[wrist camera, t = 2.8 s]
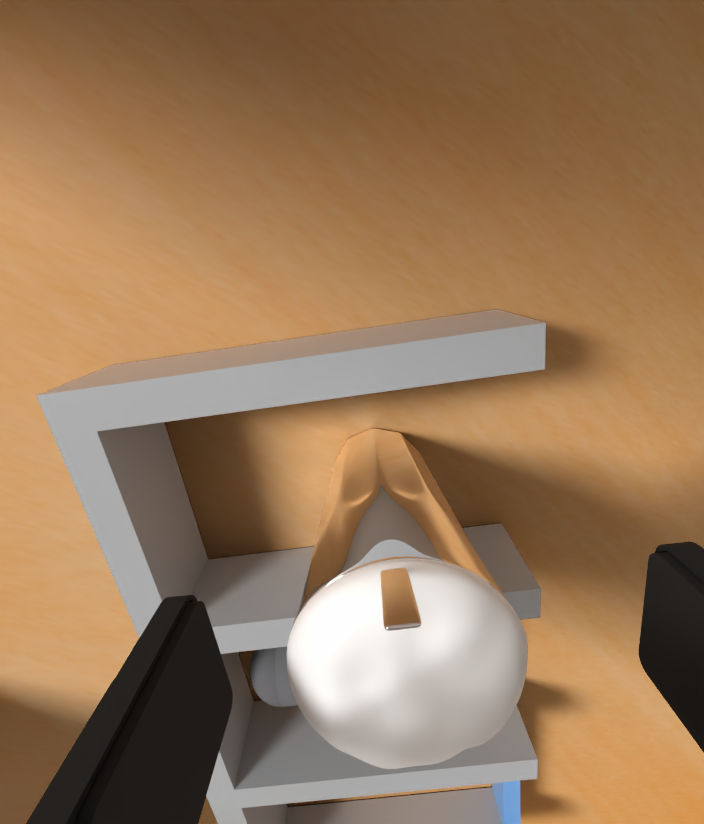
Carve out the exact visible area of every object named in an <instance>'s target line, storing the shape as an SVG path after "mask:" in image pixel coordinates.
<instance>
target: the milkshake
mask: <svg viewBox="0 0 704 824" xmlns="http://www.w3.org/2000/svg"><path fill="white" fill-rule="evenodd" d="M527 660H528V643H527V637H526V633H525V630H524V627H523V625H522V622H521V620H520V619H519V617H518V615H517V613H516V612H515V610H514V609H513V608H512V606H511V605H510V604H509V602H508V600H507V599H506V597H505V596H504V594H503V592H502V591H501V589H500V588H499V586H498V584H497V583H496V581H495V580H494V578H493V576H492V575H491V573H490V572H489V570H488V568H487V567H486V565H485V564H484V562H483V561H482V559H481V557H480V556H479V554H478V553H477V551H476V549H475V548H474V546H473V545H472V543H471V541H470V540H469V538H468V537H467V535H466V533H465V532H464V530H463V529H462V527H461V525H460V523H459V522H458V520H457V518H456V516H455V514H454V513H453V511H452V509H451V507H450V506H449V504H448V502H447V500H446V499H445V497H444V495H443V493H442V492H441V490H440V488H439V486H438V485H437V483H436V481H435V479H434V477H433V476H432V474H431V472H430V470H429V469H428V467H427V465H426V463H425V462H424V460H423V458H422V456H421V455H420V453H419V452H418V450H417V449H416V448H415V447H414V446H413V445H412V444H411V443H410V442H409V441H408V440H407V439H406V438H405V437H404V436H403V435H402V434H401V433H400V432H393V431H387V430H381V429H376V428H371V429H369V430H367V431H365V432H362V433H360V434H358V435H356V436H353V437H351V438H349V439H347V441H346V442H345V444H344V446H343V448H342V449H341V451H340V453H339V455H338V456H337V458H336V460H335V461H334V465H333V469H332V473H331V477H330V481H329V486H328V490H327V494H326V498H325V503H324V507H323V511H322V516H321V520H320V524H319V529H318V533H317V538H316V542H315V546H314V550H313V554H312V558H311V561H310V565H309V568H308V572H307V576H306V579H305V583H304V586H303V590H302V593H301V597H300V601H299V604H298V608H297V611H296V615H295V619H294V622H293V626H292V630H291V633H290V636H289V640H288V644H287V669H288V676H289V681H290V685H291V689H292V692H293V695H294V697H295V700H296V702H297V704H298V706H299V708H300V710H301V712H302V713H303V715H304V717H305V718H306V720H307V721H308V722H309V724H310V725H311V726H312V727H313V728H314V729H315V730H316V732H317V733H318V734H319V735H320V736H322V737H323V738H324V739H325V740H326V741H327V742H328V743H330V744H331V745H332V746H333V747H335V748H336V749H338V750H340V751H342V752H344V753H346V754H349V755H351V756H353V757H355V758H357V759H359V760H362V761H364V762H366V763H368V764H371V765H373V766H376V767H379V768H384V769H399V768H405V767H412V766H421V765H431V764H436V763H440V762H443V761H445V760H448V759H450V758H452V757H453V756H455V755H457V754H458V753H460V752H461V751H463V750H465V749H468V748H472V747H476V746H479V745H482V744H484V743H486V742H487V741H489V740H490V739H491V738H492V737H494V736H495V735H496V734H497V733H498V732H499V731H500V730H501V729H502V728H503V726H504V725H505V723H506V722H507V720H508V719H509V717H510V715H511V714H512V712H513V710H514V709H515V707H516V705H517V703H518V701H519V699H520V696H521V693H522V690H523V686H524V682H525V677H526V671H527Z"/></svg>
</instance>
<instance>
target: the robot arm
mask: <svg viewBox="0 0 704 824" xmlns="http://www.w3.org/2000/svg"><path fill="white" fill-rule="evenodd" d="M639 658H640V661H641V664H642V666H643V668H644V670H645V672H646V673H647V675H648V676H649V678H650V679H651V680H652V682H653V683H654V685H655V686H656V687H657V689H658V690H659V691H660V693H661V694H662V696H663V697H664V698H665V700H666V701H667V702H668V704H669V705H670V707H671V708H672V709H673V711H674V712H675V713H676V715H677V716H678V718H679V719H680V720H681V722H682V723H683V725H684V726H685V727H686V729H687V730H688V731H689V733H690V734H691V736H692V737H693V738H694V740H695V741H696V742H697V744H698V745H699V747H700V748H701V749H702V751H703V752H704V549H703V548H702V547H701V546H699V545H697V544H696V543H693V542H683V543H674V544H664V545H659V546H658V547H657V548H656V551H655V553H653V554H651V555H650V556H649V560H648V570H647V579H646V588H645V597H644V607H643V616H642V625H641V635H640V644H639ZM232 703H233V692H232V687H231V684H230V681H229V678H228V675H227V672H226V669H225V666H224V662H223V659H222V656H221V653H220V650H219V647H218V644H217V641H216V638H215V635H214V631H213V628H212V625H211V622H210V619H209V616H208V613H207V610H206V607H205V604H204V603H203V602H202V601H197V598H196V597H195V596H194V595H184V596H175V597H167V598H165V599H164V600H163V601H162V602H161V603H160V605H159V607H158V608H157V610H156V612H155V613H154V615H153V617H152V618H151V620H150V622H149V623H148V625H147V627H146V628H145V630H144V631H143V633H142V635H141V636H140V638H139V640H138V641H137V643H136V645H135V646H134V648H133V650H132V651H131V653H130V655H129V656H128V658H127V660H126V661H125V663H124V665H123V666H122V668H121V670H120V671H119V673H118V675H117V676H116V678H115V679H114V680H113V682H112V683H111V685H110V686H109V688H108V690H107V691H106V693H105V694H104V696H103V698H102V699H101V701H100V703H99V704H98V706H97V708H96V709H95V711H94V713H93V714H92V716H91V718H90V719H89V721H88V722H87V724H86V726H85V727H84V729H83V731H82V732H81V734H80V736H79V737H78V739H77V741H76V742H75V744H74V746H73V747H72V749H71V751H70V752H69V754H68V755H67V757H66V759H65V760H64V762H63V764H62V765H61V767H60V769H59V770H58V772H57V774H56V775H55V777H54V779H53V780H52V782H51V784H50V785H49V787H48V788H47V790H46V792H45V793H44V795H43V797H42V798H41V800H40V802H39V803H38V805H37V807H36V808H35V810H34V812H33V813H32V815H31V816H30V818H29V820H28V821H27V823H26V824H198V822H199V818H200V815H201V812H202V808H203V805H204V801H205V798H206V795H207V791H208V788H209V784H210V781H211V777H212V774H213V771H214V767H215V764H216V760H217V757H218V754H219V750H220V747H221V743H222V740H223V736H224V733H225V730H226V726H227V723H228V719H229V716H230V713H231V709H232Z"/></svg>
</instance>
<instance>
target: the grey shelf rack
mask: <svg viewBox="0 0 704 824" xmlns="http://www.w3.org/2000/svg"><path fill="white" fill-rule="evenodd" d="M545 339H546V323H545V322H542V321H538V320H534V319H531V318H527V317H524V316H520V315H516V314H513V313H509V312H506V311H502V310H498V309H495V310H488V311H481V312H474V313H467V314H460V315H453V316H446V317H439V318H433V319H426V320H419V321H412V322H405V323H398V324H391V325H384V326H377V327H370V328H364V329H357V330H350V331H343V332H336V333H329V334H322V335H315V336H308V337H302V338H295V339H288V340H281V341H274V342H267V343H260V344H253V345H246V346H239V347H233V348H226V349H219V350H212V351H205V352H198V353H191V354H184V355H177V356H170V357H164V358H157V359H150V360H143V361H136V362H129V363H122V364H115V365H110V366H107V367H105V368H102V369H100V370H98V371H95V372H93V373H90V374H88V375H85V376H83V377H80V378H78V379H76V380H73V381H71V382H68V383H66V384H63V385H61V386H58V387H56V388H54V389H51V390H49V391H46V392H44V393H41V394H39V395H36V396H37V398H38V401H39V403H40V405H41V408H42V410H43V412H44V415H45V417H46V419H47V422H48V424H49V427H50V429H51V431H52V434H53V436H54V438H55V441H56V443H57V445H58V448H59V450H60V452H61V455H62V457H63V460H64V462H65V464H66V467H67V469H68V471H69V474H70V476H71V478H72V481H73V483H74V485H75V488H76V490H77V493H78V495H79V497H80V500H81V502H82V504H83V507H84V509H85V511H86V514H87V516H88V518H89V521H90V523H91V526H92V528H93V530H94V533H95V535H96V537H97V540H98V542H99V544H100V547H101V549H102V552H103V554H104V556H105V559H106V561H107V563H108V566H109V568H110V570H111V573H112V575H113V577H114V580H115V582H116V585H117V587H118V589H119V592H120V594H121V596H122V599H123V601H124V603H125V606H126V608H127V610H128V613H129V615H130V618H131V620H132V622H133V625H134V627H135V629H136V632H137V634H138V636H139V638H140V636H141V635H142V633H143V631H144V630H145V628H146V627H147V625H148V623H149V622H150V620H151V618H152V617H153V615H154V613H155V612H156V610H157V608H158V607H159V605H160V603H161V602H162V601H163V600H164V599H165V598H167V597H175V596H184V595H194V596H195V597H196V598H197V601H202V602H203V603H204V604H205V607H206V610H207V613H208V616H209V619H210V622H211V625H212V628H213V631H214V635H215V638H216V641H217V644H218V647H219V650H220V653H221V656H222V659H223V662H224V666H225V669H226V672H227V675H228V678H229V681H230V684H231V687H232V692H233V703H232V709H231V713H230V716H229V719H228V723H227V726H226V730H225V733H224V736H223V740H222V743H221V747H220V750H219V754H218V757H217V760H216V764H215V767H214V771H213V774H212V777H211V781H210V784H209V788H208V791H207V795H206V797H207V799H208V801H209V804H210V806H211V809H212V811H213V813H214V816H215V818H216V820H217V823H218V824H520V780H530V779H537V766H538V759H537V756H536V754H535V751H534V749H533V746H532V743H531V741H530V738H529V736H528V733H527V730H526V728H525V725H524V723H523V720H522V717H521V715H520V712H519V710H518V707H517V705H516V707H515V709H514V710H513V712H512V714H511V715H510V717H509V719H508V720H507V722H506V723H505V725H504V726H503V728H502V729H501V730H500V731H499V732H498V733H497V734H496V735H495V736H494V737H492V738H491V739H490V740H489V741H487V742H486V743H484V744H482V745H479V746H476V747H472V748H468V749H465V750H463V751H461V752H460V753H458V754H457V755H455V756H453V757H452V758H450V759H448V760H445V761H443V762H440V763H436V764H431V765H421V766H412V767H405V768H399V769H384V768H379V767H376V766H373V765H371V764H368V763H366V762H364V761H362V760H359V759H357V758H355V757H353V756H351V755H349V754H346V753H344V752H342V751H340V750H338V749H336V748H335V747H333V746H332V745H331V744H330V743H328V742H327V741H326V740H325V739H324V738H323V737H322V736H320V735H319V734H318V733H317V732H316V730H315V729H314V728H313V727H312V726H311V725H310V724H309V722H308V721H307V720H306V718H305V717H304V715H303V713H302V712H301V710H300V708H299V706H298V705H296V706H287V707H276V706H272V705H269V704H268V703H266V702H264V701H263V700H261V701H253V698H252V695H251V692H250V688H249V685H248V682H247V679H246V676H245V673H244V670H243V667H242V663H241V660H240V657H239V654H238V652H242V651H251V650H260V649H269V648H277V647H286V646H287V644H288V640H289V636H290V633H291V630H292V626H293V622H294V619H295V615H296V611H297V608H298V604H299V601H300V597H301V593H302V590H303V586H304V583H305V579H306V576H307V572H308V568H309V565H310V561H311V558H312V554H313V550H314V546H313V547H305V548H297V549H289V550H281V551H273V552H265V553H257V554H249V555H241V556H233V557H224V558H216V559H208V557H207V554H206V551H205V548H204V545H203V542H202V539H201V535H200V532H199V529H198V526H197V523H196V520H195V517H194V514H193V510H192V507H191V504H190V501H189V498H188V495H187V492H186V489H185V485H184V482H183V479H182V476H181V473H180V470H179V467H178V464H177V460H176V457H175V454H174V451H173V448H172V445H171V442H170V439H169V435H168V432H167V429H166V426H165V423H164V422H169V421H176V420H183V419H190V418H198V417H205V416H212V415H219V414H226V413H234V412H241V411H248V410H255V409H262V408H270V407H277V406H284V405H291V404H299V403H306V402H313V401H320V400H327V399H335V398H342V397H349V396H356V395H364V394H371V393H378V392H385V391H392V390H400V389H407V388H414V387H421V386H429V385H436V384H443V383H450V382H457V381H465V380H472V379H479V378H486V377H494V376H501V375H508V374H515V373H522V372H530V371H537V370H544V369H545ZM462 529H463V530H464V532H465V533H466V535H467V537H468V538H469V540H470V541H471V543H472V545H473V546H474V548H475V549H476V551H477V553H478V554H479V556H480V557H481V559H482V561H483V562H484V564H485V565H486V567H487V568H488V570H489V572H490V573H491V575H492V576H493V578H494V580H495V581H496V583H497V584H498V586H499V588H500V589H501V591H502V592H503V594H504V596H505V597H506V599H507V600H508V602H509V604H510V605H511V606H512V608H513V609H514V610H515V612H516V613H517V615H518V617H519V619H520V620H522V619H530V618H539V617H540V606H541V588H540V586H539V585H538V583H537V581H536V580H535V578H534V576H533V575H532V573H531V571H530V570H529V568H528V566H527V565H526V563H525V561H524V560H523V558H522V556H521V555H520V553H519V551H518V550H517V548H516V546H515V545H514V543H513V541H512V540H511V538H510V536H509V535H508V533H507V531H506V530H505V528H504V526H503V525H502V523H498V524H490V525H482V526H474V527H466V528H462ZM490 783H492V787H489V788H479V789H469V790H458V791H448V792H438V793H428V794H418V795H408V796H398V797H387V798H377V799H367V800H357V801H347V802H337V803H327V804H316V805H306V806H296V807H287V804H288V803H298V802H308V801H318V800H328V799H339V798H349V797H359V796H369V795H379V794H389V793H399V792H409V791H419V790H429V789H440V788H450V787H460V786H470V785H480V784H490Z"/></svg>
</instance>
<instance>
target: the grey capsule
mask: <svg viewBox="0 0 704 824" xmlns="http://www.w3.org/2000/svg"><path fill="white" fill-rule="evenodd" d="M250 680H251V683H252V686H253V689H254V690H255V692H256V694H257V695H258V696H259V697H260V698H261V699H262V700H263V701H264V702H266V703H268V704H269V705H272V706H276V707H287V706H296V705H298V704H297V702H296V700H295V697H294V695H293V692H292V689H291V685H290V681H289V676H288V669H287V646H286V647H277V648H269V649H260V650H254V652H253V655H252V658H251V662H250Z"/></svg>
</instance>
